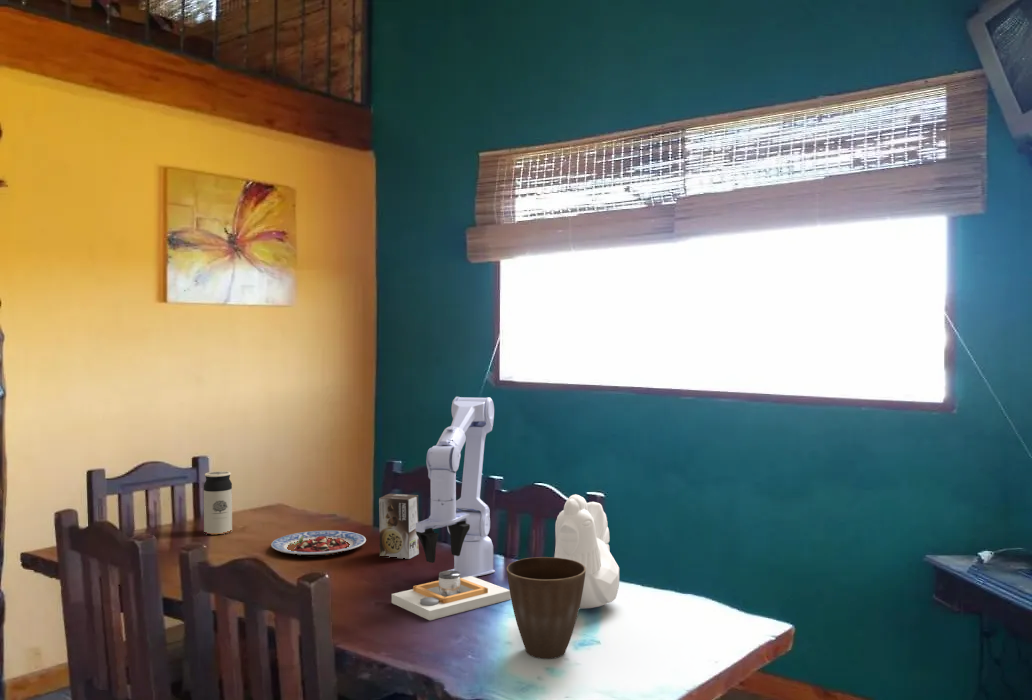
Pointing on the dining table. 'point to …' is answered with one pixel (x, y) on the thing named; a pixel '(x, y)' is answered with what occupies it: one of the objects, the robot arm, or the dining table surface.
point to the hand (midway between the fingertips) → (443, 558)
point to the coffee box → (398, 525)
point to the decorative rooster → (588, 549)
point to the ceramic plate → (319, 542)
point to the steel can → (449, 583)
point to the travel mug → (217, 502)
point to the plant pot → (546, 602)
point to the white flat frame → (450, 598)
